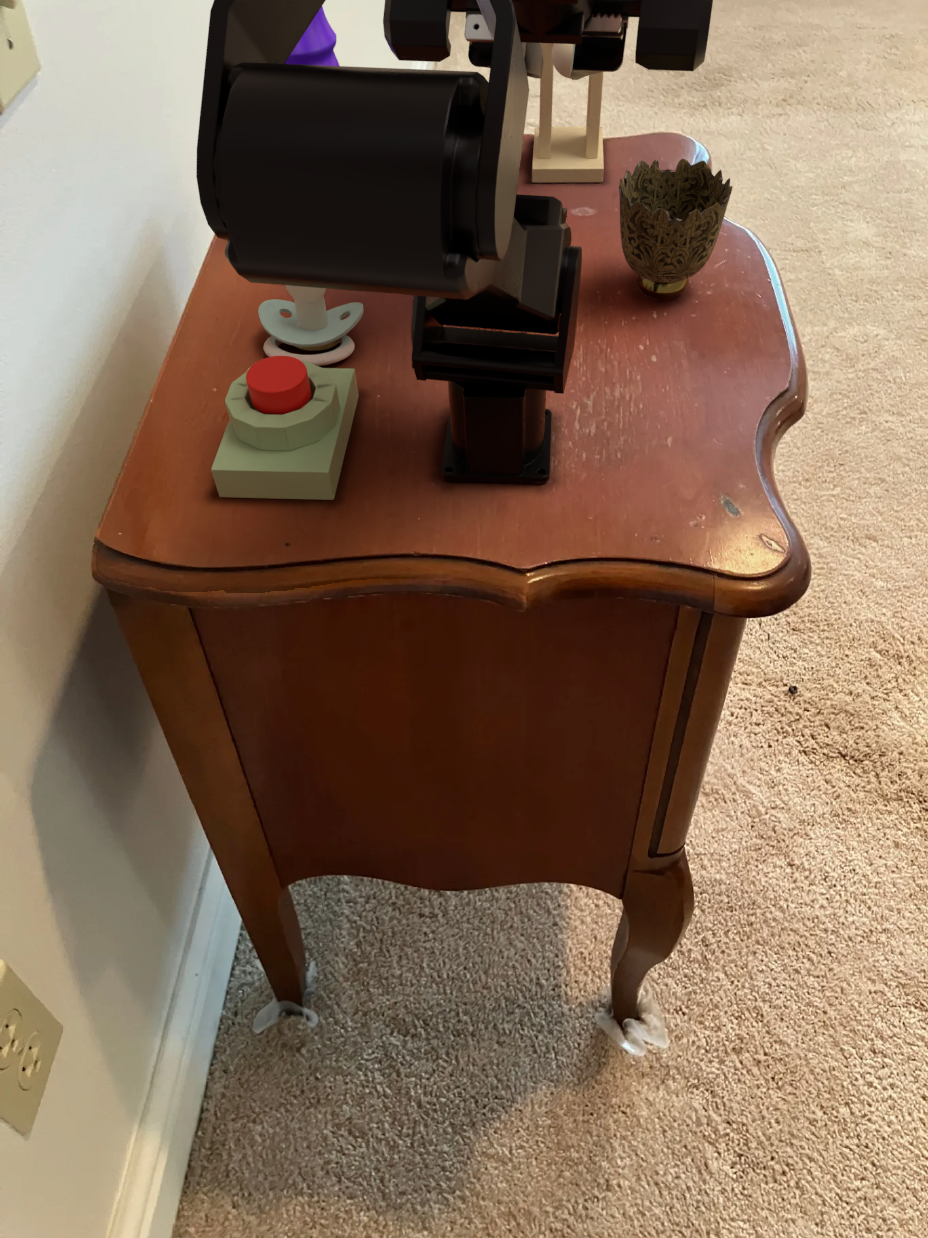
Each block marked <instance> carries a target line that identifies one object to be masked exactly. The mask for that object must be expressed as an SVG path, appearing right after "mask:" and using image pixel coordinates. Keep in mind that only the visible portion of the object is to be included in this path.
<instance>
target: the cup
mask: <svg viewBox="0 0 928 1238" xmlns="http://www.w3.org/2000/svg"><path fill="white" fill-rule="evenodd" d="M659 165H660V164H659V160H658V159H654V160H653V161H652V163H651V164H650V165H649V164H648V163H647V162H646V161H644V160H640V161H639V162H638V163H637V164H636V166H635V167H634V170H633V173H631V171H630V169H629V168H627V169H626V170H625V172H624V177H623V178H622V177H620V179H619V185H618V193H619V226H620V227H619V228H620V229H619V230H620V242H621V248H622V253H623V257H624V259H625V261H626V263H627V265H628V267H629V268H630V269H631V270H632V271H633V272H634V273H635V274H636V275H637V276H636V284H637V287H638V289H639V291H640V292H641V293H642V294H643V295H644V296H646V297H648V298H649V299H654V300H660V301H668V300H673V299H676V298H677V297H680V296H681V295H682V294H683V293H684V292H685V290H686V289H687V288H688V285H689V278H692V277H693V276H695V275H696V274H697V273H699V272H701V270H702V269H703V268H704V267H705V265H706V264H707V262H708V261H709V259H711V255H712V254H713V251H714V249H715V246H716V244H717V241H718V238H719V234H720V231H721V228H722V225H723V222H724V218H725V215H726V212H727V207H728V205H729V202H730V198H731V195H732V191H733V185H731V178H730V177H729V178H728V179H726V180H725V182H723V181H724V178H723V171H722V169H720V170H718V171H717V172H716V174H715V175H714V174H713V170H712V169H711V167H709V165H708V164H707V161H705V160H699V161H698V162H696V163H693V164H690V161H689V160H687V159H685V158H680V159H679V161H678V163H677V165H676V168H675V169H672V170H671V169H669V168H666V169H661V168H660V167H659Z"/></svg>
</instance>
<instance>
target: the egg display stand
mask: <svg viewBox="0 0 928 1238" xmlns="http://www.w3.org/2000/svg"><path fill="white" fill-rule="evenodd" d="M541 45H542V52H543V71H542V78H541V79H539V80H540V81H539V117H538V118H539V120H538V121H539V122H538V124H539V125H538V127H537V126H535V127H534V133H533V134H534V135H533V151H532V166H531V183H534V184H535V183H536V184H537V183H538V184H539V183H604V173H605V172H604V171H605V167H604V166H605V163H604V162H605V161H604V137H603V126H601V115H602V113H601V112H602V100H603V87H604V85H603V84H604V72H601V73H596V74H592V75H589V76H588V88H587V102H586V103H587V105H586V119H585V120H586V121H585V122H586V123H585V126H552V125H553V97H554V94H553V93H554V64H553V61H552V49H553V46H554V43H541Z"/></svg>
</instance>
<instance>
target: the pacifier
mask: <svg viewBox="0 0 928 1238" xmlns="http://www.w3.org/2000/svg"><path fill="white" fill-rule="evenodd" d="M284 286H285V289H286V291H287V292H288V294H289V295H290V296H291V298H293V301H294V302H293V301H290V300H285V299H276V298H275V299H274V298H273V299H267V300H265V301H263V302H261V304H260V305H259V307H258V310H257V311H258V312H257V313H258V317H259V321H260V324H261V325H262V328H263V330H265V331H266V333H268V334H269V337H268V338H267V339H266V340H265V342H264V343H263V351H264V353H265V355H266V356H267V357H272V356H290V357H294V358H297V359H299V360H300V361H307V362H309V363H312V364H314V365H316V366H319V367H322V366H329V365H332V364H336V363H338V362H341V361H343V360H345V359H347V358H348V357H350V356H351V355H352V354H353V352H354V351H355V342H354V341H353V339H352V338H351V337H350V336H348V335H347V334H348V333H350V331H351V330H352V329H354V327H355V326H356V325H357V324H358V323H359V322H360V321H361V318H362V317H363V314H364V305H363V303H362V302H359V301H356V302H355V301H354V302H349V303H344V304H342V305H339V306H338V305H337V306H336V307H333V308H331V309H328V310H327V306H326V302H325V301H326V300H325V294H326V291H327V288H314V287H302V286H289V285H284ZM283 313H287V314H288V315H291V316H290V317H285V316H284V315H282V314H283ZM347 316H348V317H347ZM344 317H346V318H344ZM343 318H344V319H343ZM282 343H283V344H287V345H289V346H293V347H295V348H296V349H300V350H303V351H310V352H311V351H313V352H314V351H316V352H317V351H324V350H329V349H331V348H333V347H336V346H337V345H338V344H340V345H339V346H338V347H336V348H335V349H333V350H330V351H327V352H323V353H315V354H298V353H293V352H288V351H286V350H283V349H282V348H280V347H279V346H280V345H282Z"/></svg>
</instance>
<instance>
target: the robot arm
mask: <svg viewBox="0 0 928 1238" xmlns="http://www.w3.org/2000/svg"><path fill="white" fill-rule="evenodd" d="M324 3H326V0H213V3H212V5H211V8H210V12H209V20H208V21H209V22H208V33H207V41H206V51H205V52H206V53H205V61H204V62H205V63H204V72H203V84H202V93H201V100H200V101H201V103H200V111H199V112H200V113H199V121H198V122H199V123H198V133H197V143H196V182H197V189H198V194H199V195H198V196H199V202H200V206H201V209H202V212H203V214H204V217H205V220H206V222H207V223H206V224H207V225H208V227H209V228H210V230H212V232H213V233H214V235H215V236H216V238H218V239H221V240H224V241H227V242H226V244H225V247H224V250H223V251H224V257H225V258H226V260H227V262H228V263H229V264H230V265H231V267H232V268H233V270H234V271H235V272H236V274H237V275H239V276H240V277H241V278H243V279H245V280H246V281H248V282H249V283H254V284H265V285H266V284H267V285H276V286H277V285H280V286H285V285H289V286H302V287H314V288H326V290H327V289H329V290H339V291H340V290H341V291H351V292H352V291H353V292H367V293H377V294H378V293H379V294H391V295H403V296H412V308H411V309H412V310H411V324H410V326H411V327H410V329H411V331H410V335H411V336H410V337H411V338H410V339H411V368H412V369H413V372H414V375H415V379H416V381H425V382H426V381H427V380H428V381H429V380H430V381H440V382H447V391H448V393H447V394H448V406H449V407H448V408H449V411H448V418H447V425H446V432H445V439H444V448H443V454H442V462H441V467H440V468H441V470H440V471H441V478H442V479H443V480H445V481H454V482H455V481H456V482H457V481H458V482H492V483H493V482H494V483H495V482H496V483H498V482H499V483H539V484H541V483H546V482H548V481H549V480H550V477H551V476H550V475H551V447H552V446H551V445H552V411H551V410H550V409H548V408H546V400H547V399H546V398H547V391H548V392H553V393H554V394H562V395H563V394H565V388H566V385H567V380H568V377H569V376H568V375H569V373H570V372H569V371H570V366H571V362H572V358H573V353H574V349H575V341H576V333H577V332H576V330H577V321H578V311H579V298H580V290H581V289H580V287H581V278H582V265H583V248H582V246H580V245H572V229H571V227H570V225H569V224H568V223H567V216H568V208H567V207H564V206H563V202H562V201H561V200H560V199H558V198H556V196H551V195H537V194H519V193H518V183H519V175H520V168H521V162H522V161H521V159H522V154H523V153H522V151H523V144H524V135H525V128H526V119H527V112H528V103H529V95H530V85H529V78H533V79H539V80H540V79H541V78H542V71H543V52H542V45H541V43H555V44H574V45H573V53H572V61H571V69H570V78H571V79H570V78H569V79H570V80H573V81H579V80H580V79H583V78H586V77H589V75H592V74H596V73H601V72H603V73H614V72H617V71H619V70H620V69H621V68H622V65H623V63H624V59H625V58H624V57H625V48H626V40H627V32H628V28H629V24H630V23H629V22H630V18H638V23H637V30H636V31H637V32H636V42H635V53H634V54H635V56H634V63H635V64H637V65H638V66H640V67H642V68H644V69H646V70H647V71H669V72H671V71H673V72H694V71H695V70H697V69H698V68H699V67H700V66H701V65H702V64H704V62H705V59H706V53H707V48H708V47H707V46H708V40H709V34H710V27H711V26H710V25H711V20H712V19H711V18H712V11H713V4H714V0H384V6H383V16H382V25H383V35H384V39H385V41H386V43H387V45H388V47H389V49H390V51H391V53H393V55H394V56H395V57H396V59H397V60H398V61H405V62H431V63H432V62H433V63H440V62H442V61H444V60H446V59H448V58H449V57H451V52H452V44H451V41H450V38H449V37H450V36H449V34H450V26H451V25H450V23H451V15H452V13H465V24H464V34H463V35H464V39H465V40H466V42H468V51H467V57H468V60H469V62H470V64H471V65H472V66H473V67H475V68H476V67H477V68H487V69H489V74H488V75H489V76H488V79H486V77H485V76H484V75H483V74H482V73H480V72H479V71H469V70H468V71H467V70H442V69H419V68H418V69H417V68H398V67H397V68H395V67H369V66H348V65H347V66H345V65H339V66H323V65H299V64H285V62H286V61H287V59H288V57H289V56H290V54H291V53H292V51H293V50H294V48H295V47H296V45H297V44H298V42H299V40H300V39H301V37H302V36H303V34H304V33H305V31H306V30H307V28H308V27H309V25H310V24H311V22H312V20H313V19H314V17H315V16H316V14H317V13H318V11H319V10H320V8H321V7H323V5H324Z"/></svg>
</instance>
